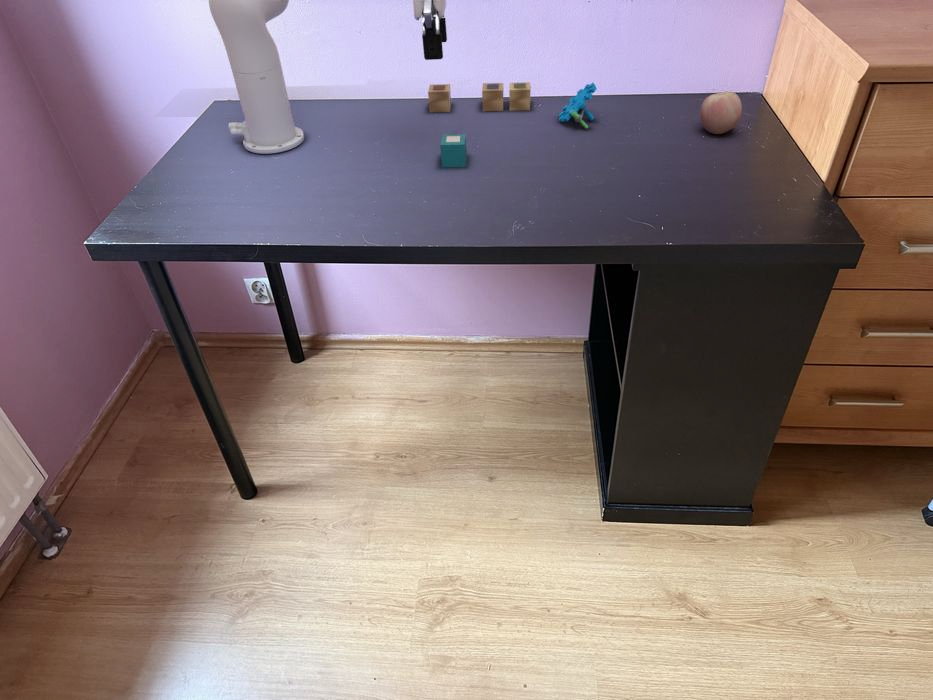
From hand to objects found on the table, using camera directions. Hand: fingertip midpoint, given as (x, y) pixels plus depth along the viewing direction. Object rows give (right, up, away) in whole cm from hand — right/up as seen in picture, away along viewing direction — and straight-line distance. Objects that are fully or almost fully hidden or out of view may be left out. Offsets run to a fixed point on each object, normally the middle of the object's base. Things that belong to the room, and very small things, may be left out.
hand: (436, 50), depth 117 cm
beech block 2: (+11, +2, +32) cm, 34 cm away
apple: (+56, -9, +17) cm, 60 cm away
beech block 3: (+17, +2, +32) cm, 36 cm away
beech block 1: (-1, +2, +33) cm, 33 cm away
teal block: (+3, -17, +12) cm, 20 cm away
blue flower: (+29, -4, +24) cm, 38 cm away
